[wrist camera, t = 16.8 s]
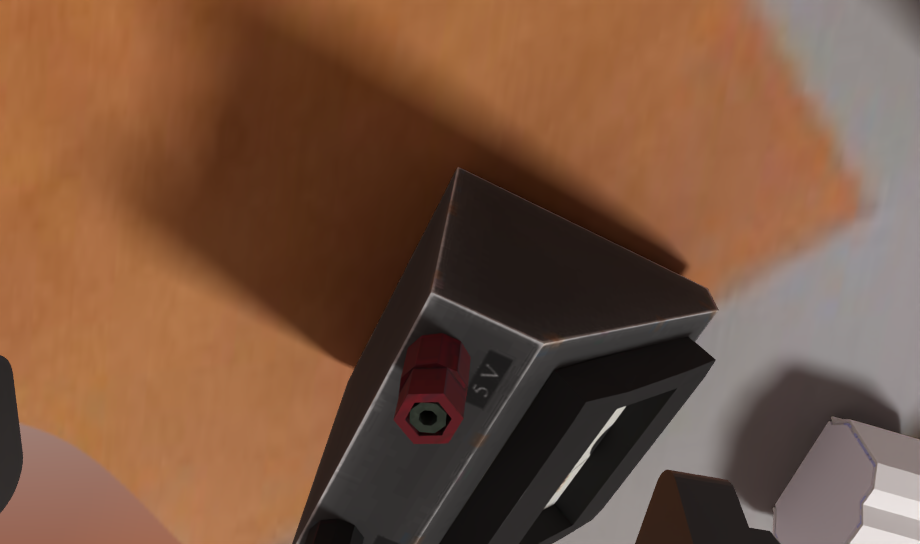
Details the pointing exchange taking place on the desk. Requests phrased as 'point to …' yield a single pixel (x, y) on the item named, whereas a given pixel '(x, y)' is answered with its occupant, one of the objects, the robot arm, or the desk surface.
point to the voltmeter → (506, 381)
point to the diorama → (853, 489)
